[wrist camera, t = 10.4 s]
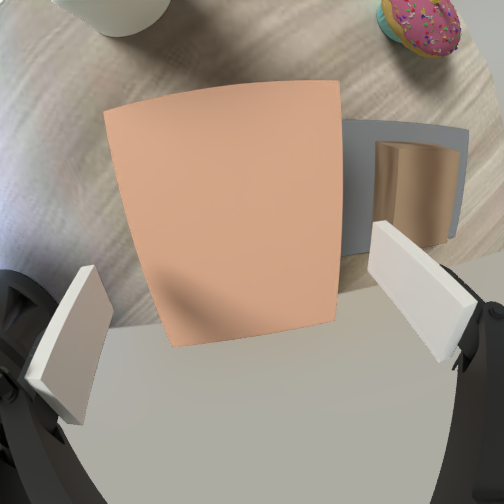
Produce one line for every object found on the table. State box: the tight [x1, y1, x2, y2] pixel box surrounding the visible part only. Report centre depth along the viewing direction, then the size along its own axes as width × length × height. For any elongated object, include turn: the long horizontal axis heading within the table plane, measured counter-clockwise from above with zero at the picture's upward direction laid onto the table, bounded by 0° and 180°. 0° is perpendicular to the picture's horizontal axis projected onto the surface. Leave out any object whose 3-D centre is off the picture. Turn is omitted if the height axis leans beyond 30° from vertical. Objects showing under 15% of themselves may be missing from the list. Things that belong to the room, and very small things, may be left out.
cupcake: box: [377, 0, 462, 59], centre depth 13 cm, size 9×8×12 cm
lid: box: [103, 80, 343, 347], centre depth 17 cm, size 12×16×2 cm
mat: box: [340, 120, 469, 257], centre depth 27 cm, size 18×14×1 cm
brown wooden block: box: [370, 141, 460, 248], centre depth 25 cm, size 8×10×4 cm
